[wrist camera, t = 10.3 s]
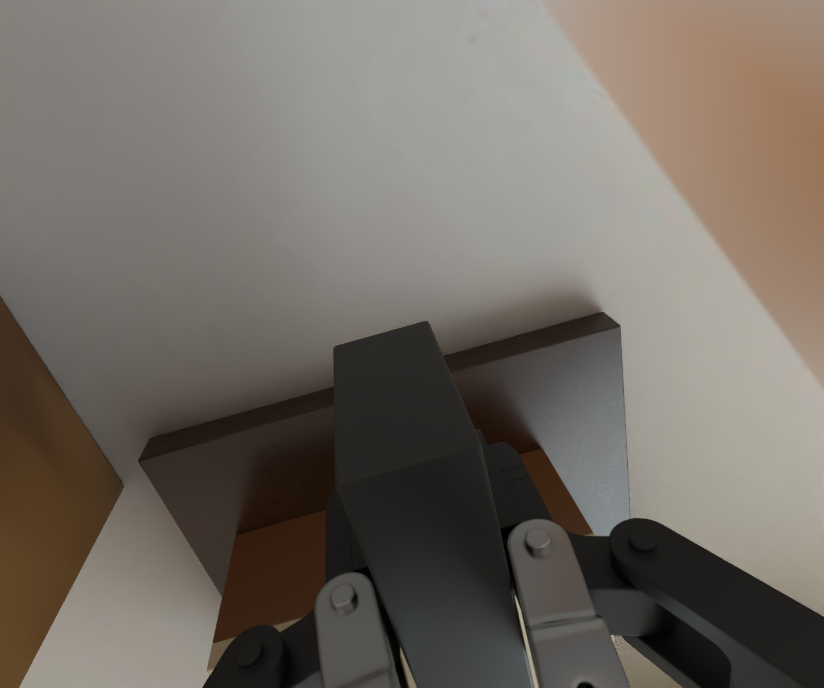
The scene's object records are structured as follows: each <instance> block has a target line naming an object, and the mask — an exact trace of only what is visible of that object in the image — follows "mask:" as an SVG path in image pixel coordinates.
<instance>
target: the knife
mask: <svg viewBox="0 0 824 688" xmlns="http://www.w3.org/2000/svg"><path fill="white" fill-rule="evenodd" d="M333 359H334V434H335V486H336V488H337V491H338V493H339V496H340V498H341V501H342V503H343V506H344V508H345V511H346V513H347V516H348V518H349V521H350V523H351V525H352V528H353V530H354V533H355V535H356V538H357V540H358V543H359V545H360V548H361V550H362V553H363V555H364V558H365V560H366V563H367V565H368V568H369V570H370V573H371V575H372V578H373V580H374V583H375V585H376V587H377V590H378V592H379V595H380V597H381V600H382V602H383V605H384V607H385V610H386V612H387V615H388V617H389V620H390V622H391V625H392V627H393V630H394V632H395V635H396V637H397V640H398V642H399V644H400V647H401V649H402V652H403V654H404V657H405V659H406V662H407V664H408V667H409V669H410V672H411V674H412V677H413V679H414V682H415V684H416V687H417V688H535V687H534V682H533V678H532V673H531V669H530V664H529V660H528V655H527V650H526V646H525V641H524V637H523V632H522V628H521V623H520V619H519V614H518V609H517V605H516V600H515V596H514V591H513V587H512V582H511V577H510V573H509V568H508V564H507V559H506V555H505V550H504V546H503V541H502V536H501V532H500V527H499V523H498V518H497V514H496V509H495V504H494V500H493V495H492V491H491V486H490V482H489V477H488V473H487V468H486V463H485V459H484V454H483V450H482V445H481V442H480V440H479V437H478V435H477V433H476V430H475V428H474V426H473V424H472V421H471V419H470V417H469V414H468V412H467V410H466V407H465V405H464V403H463V400H462V398H461V396H460V394H459V391H458V389H457V387H456V384H455V382H454V380H453V377H452V375H451V373H450V370H449V368H448V366H447V364H446V361H445V359H444V357H443V354H442V352H441V350H440V347H439V345H438V343H437V340H436V338H435V336H434V334H433V331H432V329H431V327H430V324H429V323H428V321H423V322H420V323H416V324H413V325H409V326H406V327H402V328H398V329H395V330H391V331H388V332H384V333H380V334H377V335H373V336H370V337H366V338H363V339H359V340H355V341H352V342H348V343H345V344H341V345H337V346H335V347H334V349H333Z"/></svg>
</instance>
